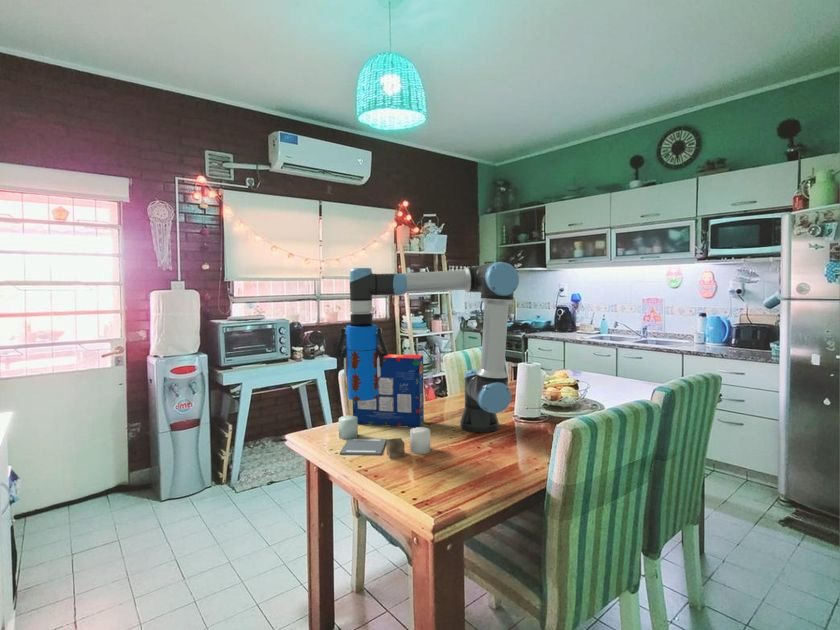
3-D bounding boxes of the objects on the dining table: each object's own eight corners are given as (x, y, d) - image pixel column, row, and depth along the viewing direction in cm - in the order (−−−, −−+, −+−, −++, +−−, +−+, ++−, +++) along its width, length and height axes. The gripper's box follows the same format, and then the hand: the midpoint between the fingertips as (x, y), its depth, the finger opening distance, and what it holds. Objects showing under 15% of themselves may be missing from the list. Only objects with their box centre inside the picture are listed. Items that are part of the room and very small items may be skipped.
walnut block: (401, 452, 156) (400, 437, 155) (404, 457, 151) (404, 442, 150) (386, 453, 154) (386, 439, 154) (389, 459, 149) (389, 444, 149)
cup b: (359, 433, 175) (359, 415, 174) (355, 439, 168) (355, 421, 168) (341, 433, 175) (341, 415, 175) (337, 439, 168) (336, 421, 168)
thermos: (369, 402, 152) (368, 327, 150) (341, 399, 156) (340, 326, 154) (383, 394, 162) (382, 324, 160) (357, 392, 166) (355, 323, 164)
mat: (386, 440, 167) (386, 438, 167) (380, 455, 153) (380, 453, 153) (348, 439, 168) (348, 438, 168) (339, 454, 154) (339, 452, 154)
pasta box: (423, 421, 189) (423, 355, 187) (419, 427, 181) (418, 358, 179) (359, 418, 195) (358, 353, 193) (353, 423, 187) (351, 356, 185)
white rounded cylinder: (430, 446, 160) (430, 427, 160) (430, 454, 153) (429, 434, 153) (411, 446, 161) (410, 427, 160) (409, 454, 154) (409, 433, 153)
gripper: (396, 312, 160) (397, 373, 161) (330, 312, 161) (332, 373, 163) (393, 313, 152) (394, 378, 154) (325, 313, 154) (326, 378, 155)
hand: (362, 376), depth 158 cm, fingers closed on thermos, 11 cm apart
